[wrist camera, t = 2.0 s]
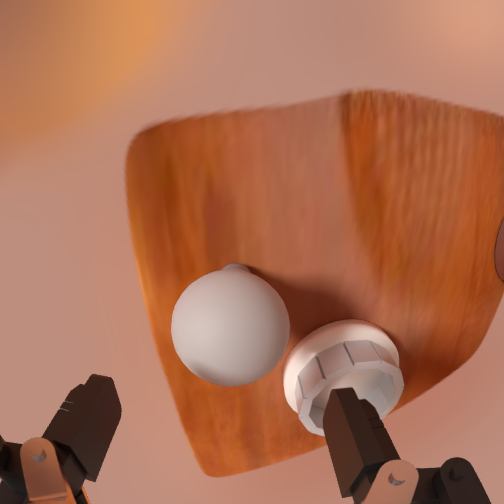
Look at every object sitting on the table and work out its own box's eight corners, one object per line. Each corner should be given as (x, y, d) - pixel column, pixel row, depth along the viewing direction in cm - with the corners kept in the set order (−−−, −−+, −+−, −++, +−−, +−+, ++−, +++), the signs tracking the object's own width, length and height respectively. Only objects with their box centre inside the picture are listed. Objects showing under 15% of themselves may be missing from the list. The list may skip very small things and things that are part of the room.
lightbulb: (284, 298, 23) (310, 393, 12) (212, 318, 23) (191, 418, 13) (262, 226, 21) (277, 281, 11) (185, 250, 22) (134, 320, 11)
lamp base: (376, 297, 23) (401, 325, 18) (399, 376, 26) (418, 406, 21) (262, 353, 24) (265, 391, 19) (307, 420, 27) (314, 455, 22)
